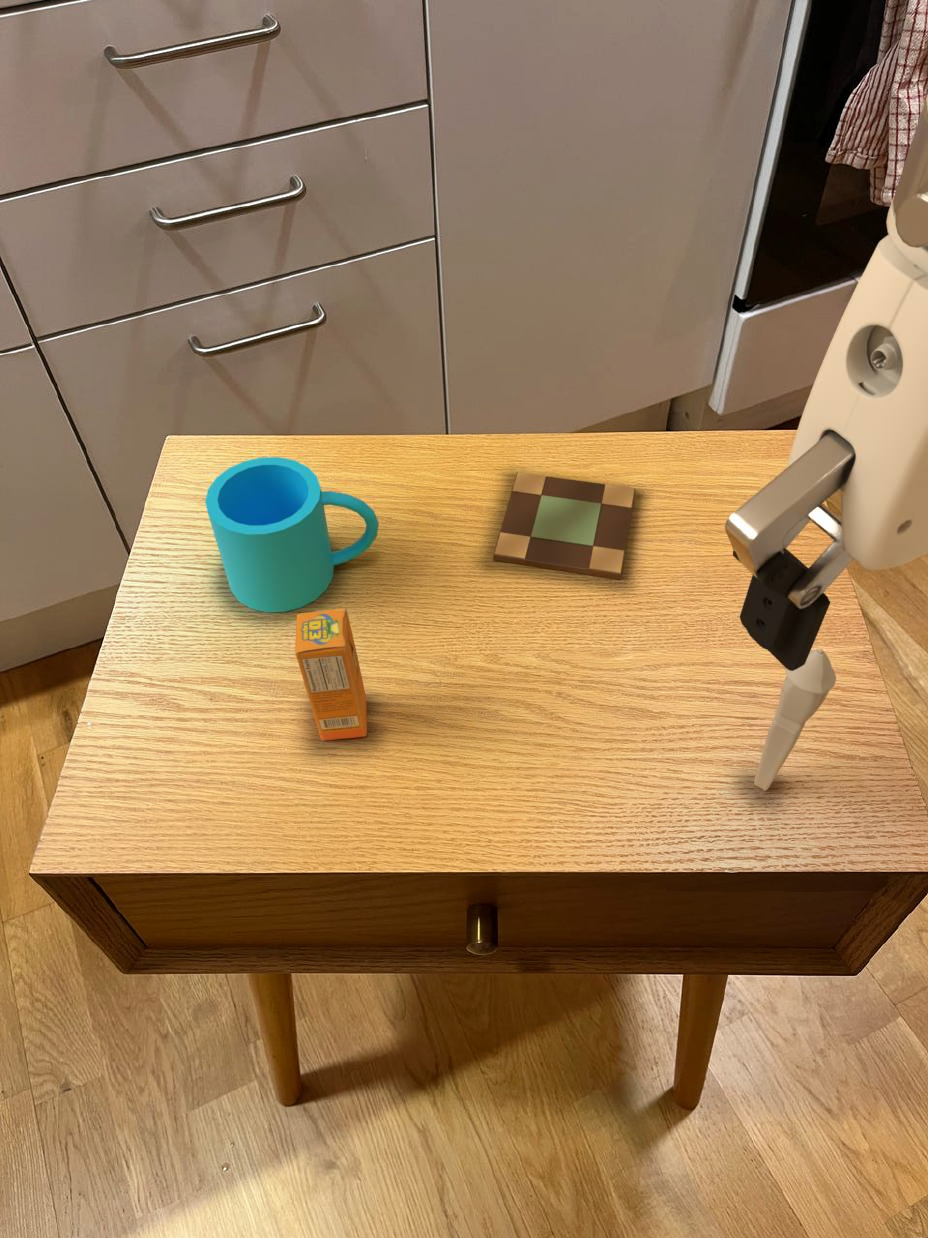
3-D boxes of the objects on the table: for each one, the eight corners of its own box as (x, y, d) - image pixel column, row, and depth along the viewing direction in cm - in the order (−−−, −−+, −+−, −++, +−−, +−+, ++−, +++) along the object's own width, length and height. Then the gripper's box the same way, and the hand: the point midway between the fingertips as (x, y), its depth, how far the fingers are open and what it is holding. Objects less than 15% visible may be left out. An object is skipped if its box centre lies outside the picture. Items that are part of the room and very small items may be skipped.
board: (634, 493, 80) (636, 487, 79) (620, 580, 74) (621, 573, 73) (516, 476, 81) (516, 470, 81) (492, 560, 75) (492, 554, 75)
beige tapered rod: (750, 761, 63) (806, 623, 52) (789, 781, 62) (854, 645, 51) (734, 789, 62) (788, 654, 51) (774, 810, 61) (837, 676, 50)
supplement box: (316, 703, 66) (295, 608, 59) (366, 699, 67) (351, 604, 59) (316, 744, 64) (293, 650, 57) (367, 739, 64) (352, 646, 57)
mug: (228, 619, 72) (204, 541, 65) (228, 542, 77) (205, 463, 71) (388, 598, 73) (380, 520, 66) (377, 524, 78) (368, 445, 72)
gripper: (925, 350, 22) (761, 755, 35) (1358, 166, 27) (1076, 575, 40) (712, 214, 26) (636, 620, 39) (1123, 78, 32) (937, 474, 45)
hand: (860, 597), depth 40 cm, fingers open, 9 cm apart
